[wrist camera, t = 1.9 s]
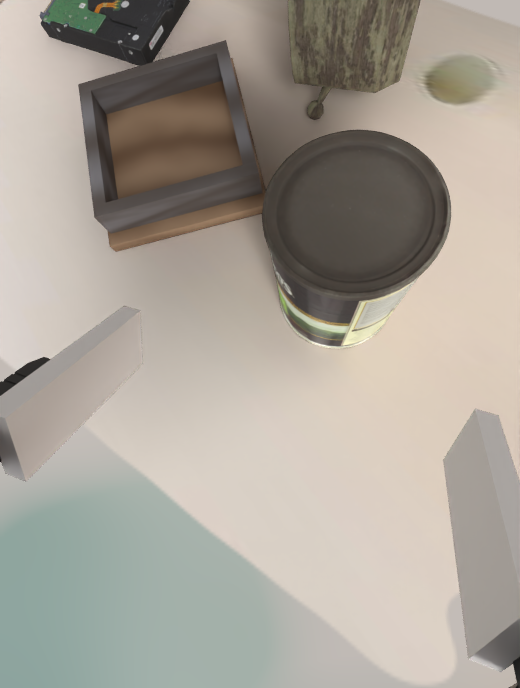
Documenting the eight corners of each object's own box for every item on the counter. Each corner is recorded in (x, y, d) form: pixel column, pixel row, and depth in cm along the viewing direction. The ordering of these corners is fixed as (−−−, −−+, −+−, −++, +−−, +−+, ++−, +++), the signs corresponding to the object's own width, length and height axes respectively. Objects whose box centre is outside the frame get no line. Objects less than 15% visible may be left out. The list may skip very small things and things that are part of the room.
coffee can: (282, 353, 34) (264, 303, 21) (277, 248, 37) (258, 139, 23) (401, 346, 33) (466, 288, 19) (388, 238, 35) (438, 117, 22)
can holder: (269, 211, 37) (265, 184, 33) (115, 251, 39) (93, 230, 35) (234, 68, 42) (226, 29, 38) (96, 108, 43) (74, 75, 39)
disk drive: (192, 5, 45) (91, -23, 48) (185, -22, 43) (78, -49, 46) (151, 73, 44) (49, 41, 47) (141, 50, 41) (33, 17, 44)
